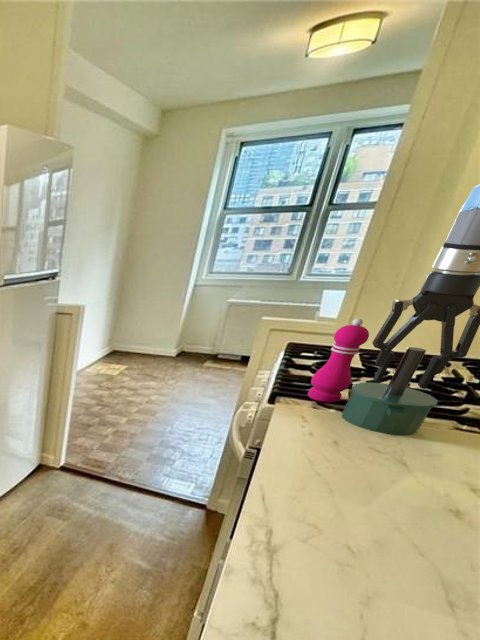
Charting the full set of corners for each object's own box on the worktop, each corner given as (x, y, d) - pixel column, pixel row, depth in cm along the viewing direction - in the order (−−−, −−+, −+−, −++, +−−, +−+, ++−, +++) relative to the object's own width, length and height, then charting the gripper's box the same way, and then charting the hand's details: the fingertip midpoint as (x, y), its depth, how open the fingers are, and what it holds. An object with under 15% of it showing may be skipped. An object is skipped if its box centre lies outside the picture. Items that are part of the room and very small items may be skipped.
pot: (408, 414, 113) (422, 388, 109) (426, 445, 100) (443, 416, 97) (337, 403, 119) (349, 378, 116) (346, 430, 106) (359, 403, 103)
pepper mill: (346, 399, 121) (385, 319, 111) (333, 405, 118) (372, 324, 108) (312, 390, 126) (346, 313, 117) (299, 396, 123) (333, 317, 114)
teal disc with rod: (426, 394, 108) (454, 345, 103) (442, 416, 98) (473, 363, 93) (346, 383, 115) (368, 336, 110) (354, 402, 105) (378, 352, 100)
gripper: (393, 271, 96) (342, 380, 107) (541, 278, 86) (468, 398, 97) (386, 266, 101) (338, 370, 112) (525, 273, 91) (457, 386, 103)
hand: (398, 383), depth 105 cm, fingers open, 6 cm apart
